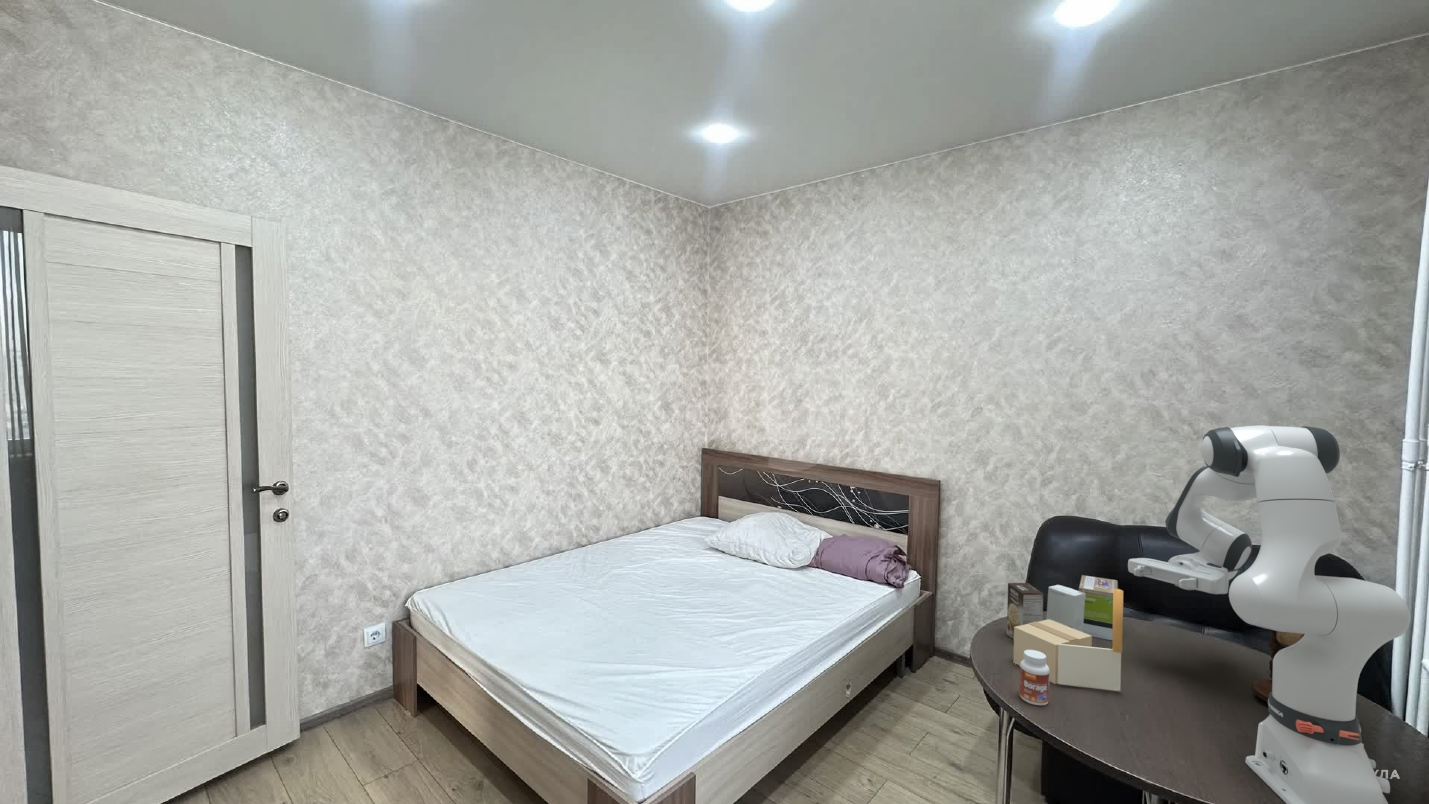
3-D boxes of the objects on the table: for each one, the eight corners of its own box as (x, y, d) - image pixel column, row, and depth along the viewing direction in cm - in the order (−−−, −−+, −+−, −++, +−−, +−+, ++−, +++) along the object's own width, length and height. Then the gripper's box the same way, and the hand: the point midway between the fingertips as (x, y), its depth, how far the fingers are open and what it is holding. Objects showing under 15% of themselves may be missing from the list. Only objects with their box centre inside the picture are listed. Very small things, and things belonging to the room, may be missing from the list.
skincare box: (1045, 634, 174) (1045, 586, 174) (1056, 631, 178) (1057, 583, 177) (1073, 645, 167) (1074, 595, 167) (1084, 641, 170) (1085, 591, 170)
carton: (1013, 663, 156) (1014, 626, 156) (1048, 654, 161) (1049, 618, 161) (1054, 684, 145) (1055, 644, 145) (1091, 673, 150) (1091, 635, 150)
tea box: (1080, 618, 188) (1081, 573, 187) (1118, 626, 182) (1119, 579, 182) (1077, 634, 175) (1078, 586, 175) (1117, 642, 170) (1118, 593, 169)
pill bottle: (1021, 703, 136) (1021, 657, 136) (1017, 690, 142) (1018, 646, 141) (1051, 708, 134) (1051, 661, 133) (1046, 695, 139) (1047, 650, 139)
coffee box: (1005, 634, 175) (1006, 582, 175) (1026, 634, 175) (1027, 582, 174) (1021, 647, 166) (1022, 592, 165) (1043, 648, 166) (1044, 592, 165)
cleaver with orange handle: (1057, 682, 145) (1059, 584, 144) (1119, 689, 141) (1121, 589, 141) (1060, 686, 143) (1061, 587, 142) (1122, 694, 139) (1124, 592, 139)
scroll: (1360, 723, 128) (1363, 635, 128) (1300, 725, 127) (1302, 636, 127) (1290, 689, 143) (1292, 610, 143) (1235, 691, 142) (1237, 611, 142)
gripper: (1145, 550, 160) (1114, 555, 155) (1235, 570, 142) (1203, 576, 136) (1145, 573, 160) (1113, 578, 155) (1235, 595, 142) (1203, 603, 136)
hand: (1156, 577), depth 145 cm, fingers open, 8 cm apart
